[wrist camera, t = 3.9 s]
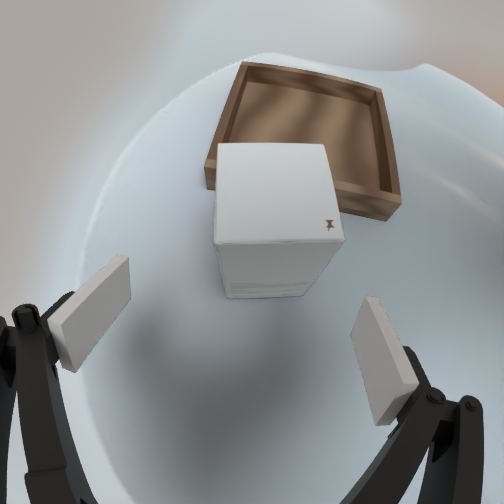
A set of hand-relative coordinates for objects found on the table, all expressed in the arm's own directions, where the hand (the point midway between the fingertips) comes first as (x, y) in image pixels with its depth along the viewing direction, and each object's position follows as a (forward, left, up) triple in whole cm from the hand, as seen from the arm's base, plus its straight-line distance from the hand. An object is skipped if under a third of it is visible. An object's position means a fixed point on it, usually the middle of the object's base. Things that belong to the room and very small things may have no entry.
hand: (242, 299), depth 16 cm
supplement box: (-1, -7, -12) cm, 13 cm away
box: (-4, -24, -11) cm, 26 cm away
